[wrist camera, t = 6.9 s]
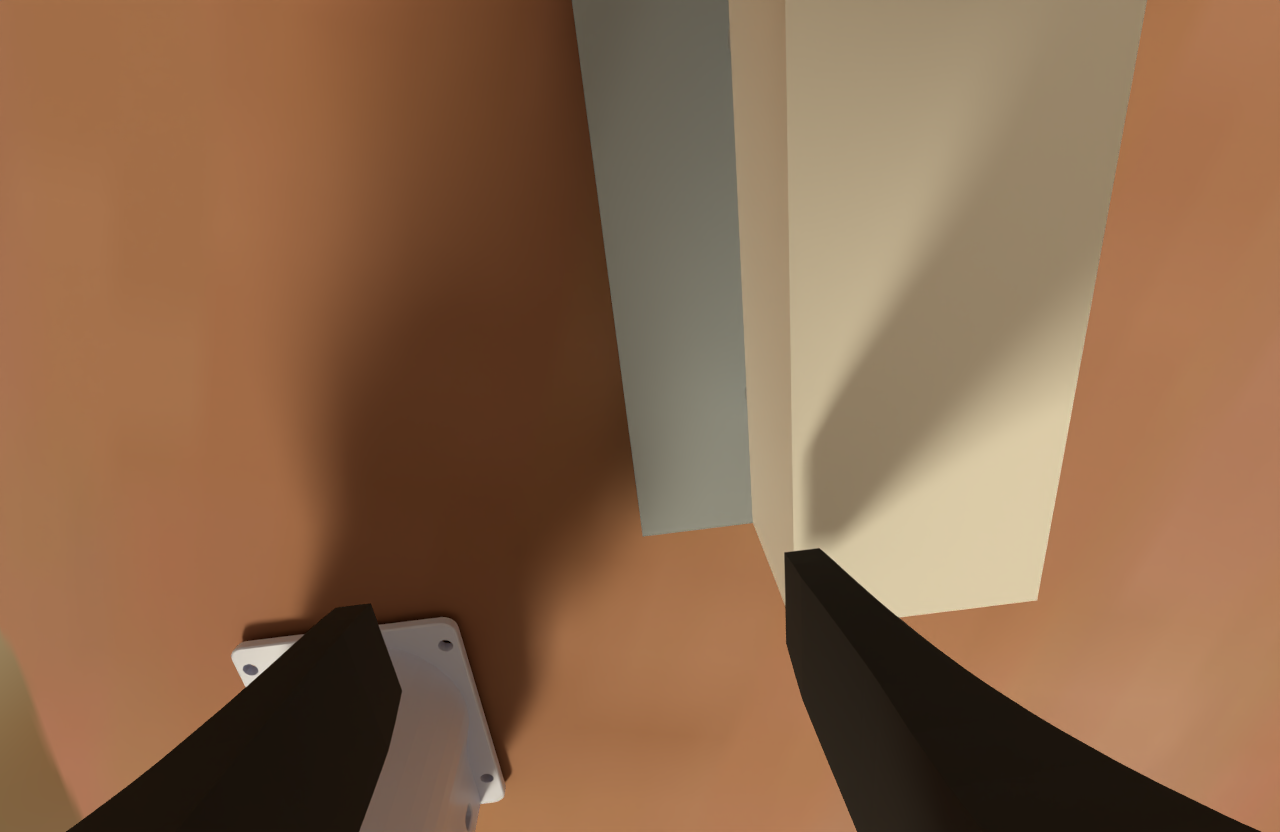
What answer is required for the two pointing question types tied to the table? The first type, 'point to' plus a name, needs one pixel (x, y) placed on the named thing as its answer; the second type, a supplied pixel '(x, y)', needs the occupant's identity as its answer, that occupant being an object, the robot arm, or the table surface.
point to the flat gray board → (672, 249)
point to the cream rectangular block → (921, 276)
